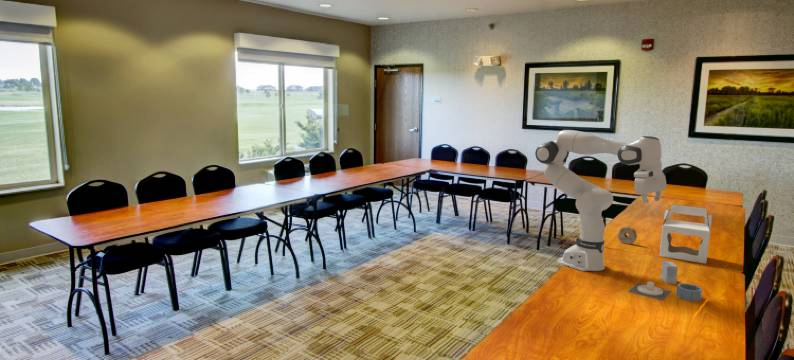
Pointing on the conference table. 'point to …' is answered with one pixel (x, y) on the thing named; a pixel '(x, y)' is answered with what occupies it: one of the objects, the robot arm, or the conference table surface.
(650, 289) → the lid
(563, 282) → the conference table surface
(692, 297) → the bowl
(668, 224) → the gable box
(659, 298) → the mat
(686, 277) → the conference table surface
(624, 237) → the stone disc
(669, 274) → the medicine box
